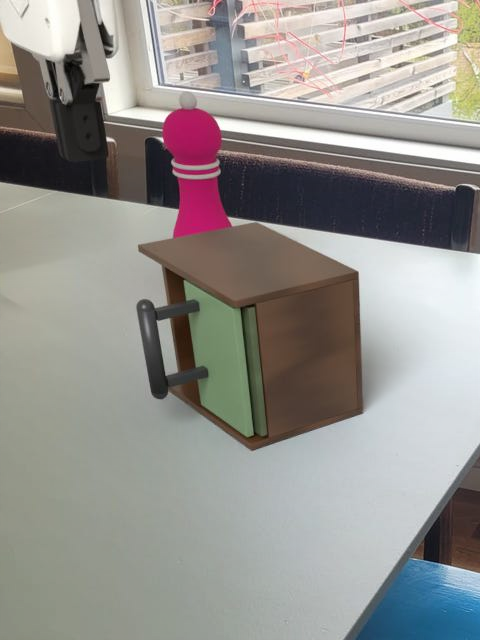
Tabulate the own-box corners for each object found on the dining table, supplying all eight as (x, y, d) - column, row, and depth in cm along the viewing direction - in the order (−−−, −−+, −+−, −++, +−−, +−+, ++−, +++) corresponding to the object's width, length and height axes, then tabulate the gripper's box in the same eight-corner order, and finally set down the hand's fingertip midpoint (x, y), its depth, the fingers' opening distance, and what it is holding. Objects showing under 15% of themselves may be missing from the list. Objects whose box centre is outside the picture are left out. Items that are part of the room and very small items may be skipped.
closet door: (192, 455, 82) (172, 323, 75) (147, 420, 87) (124, 292, 80) (254, 435, 85) (240, 307, 78) (207, 402, 90) (190, 278, 83)
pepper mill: (203, 302, 110) (177, 102, 98) (165, 284, 114) (135, 89, 101) (255, 287, 115) (237, 93, 102) (218, 271, 118) (195, 81, 106)
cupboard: (251, 450, 85) (234, 301, 77) (160, 385, 94) (137, 244, 86) (363, 413, 92) (359, 271, 83) (268, 355, 100) (256, 221, 92)
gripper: (-69, -157, 67) (-3, 141, 78) (22, -141, 58) (80, 190, 70) (41, -151, 71) (88, 131, 82) (141, -135, 62) (177, 176, 74)
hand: (84, 157), depth 76 cm, fingers closed
